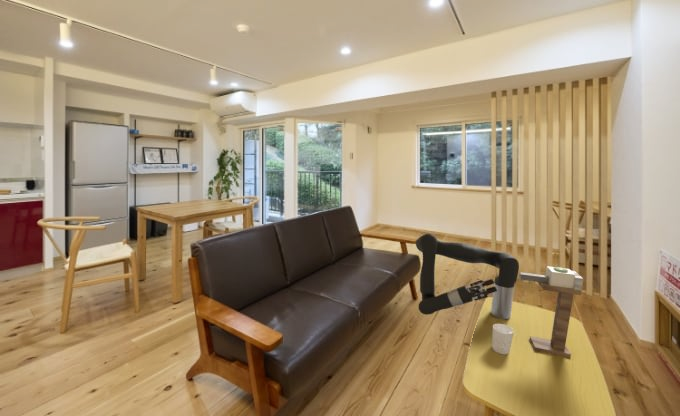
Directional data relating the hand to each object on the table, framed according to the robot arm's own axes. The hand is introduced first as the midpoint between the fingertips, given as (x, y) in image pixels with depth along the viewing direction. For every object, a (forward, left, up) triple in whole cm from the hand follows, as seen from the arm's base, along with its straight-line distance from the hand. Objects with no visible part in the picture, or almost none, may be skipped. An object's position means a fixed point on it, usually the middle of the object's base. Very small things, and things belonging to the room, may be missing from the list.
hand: (494, 284), depth 136 cm
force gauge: (0, +19, +4) cm, 19 cm away
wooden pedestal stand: (0, +24, -26) cm, 35 cm away
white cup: (+9, +4, -26) cm, 28 cm away
